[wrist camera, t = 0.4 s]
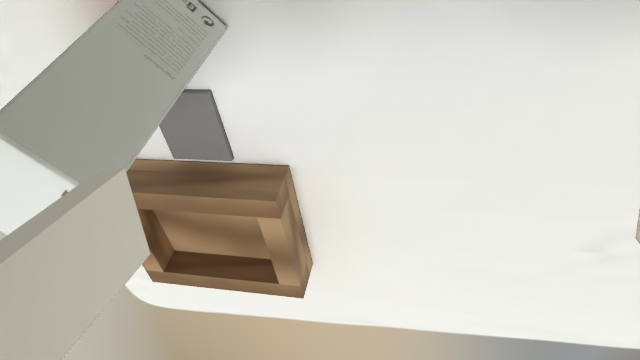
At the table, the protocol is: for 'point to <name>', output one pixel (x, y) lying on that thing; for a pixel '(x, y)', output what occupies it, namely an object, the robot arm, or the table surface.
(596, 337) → the table surface
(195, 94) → the flat gray slab
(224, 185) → the socket block
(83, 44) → the skincare box
